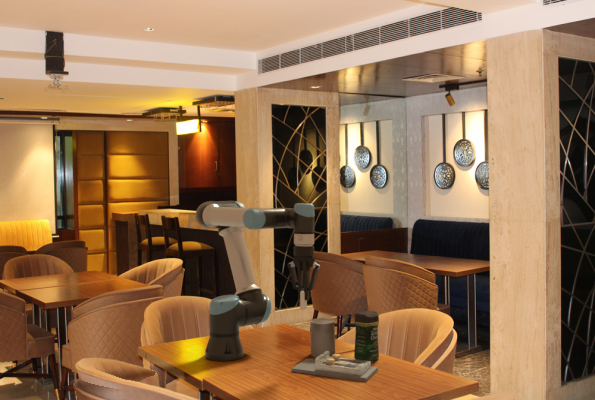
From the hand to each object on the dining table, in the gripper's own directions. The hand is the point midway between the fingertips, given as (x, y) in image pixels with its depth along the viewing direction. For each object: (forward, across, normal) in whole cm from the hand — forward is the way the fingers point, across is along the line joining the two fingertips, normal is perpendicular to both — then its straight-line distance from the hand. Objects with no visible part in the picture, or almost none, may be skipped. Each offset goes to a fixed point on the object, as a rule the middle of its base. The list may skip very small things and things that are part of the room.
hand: (303, 308), depth 213 cm
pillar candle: (+22, +1, +17) cm, 28 cm away
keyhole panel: (+20, +16, -1) cm, 26 cm away
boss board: (+21, +13, -1) cm, 25 cm away
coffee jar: (+22, +19, +18) cm, 34 cm away
